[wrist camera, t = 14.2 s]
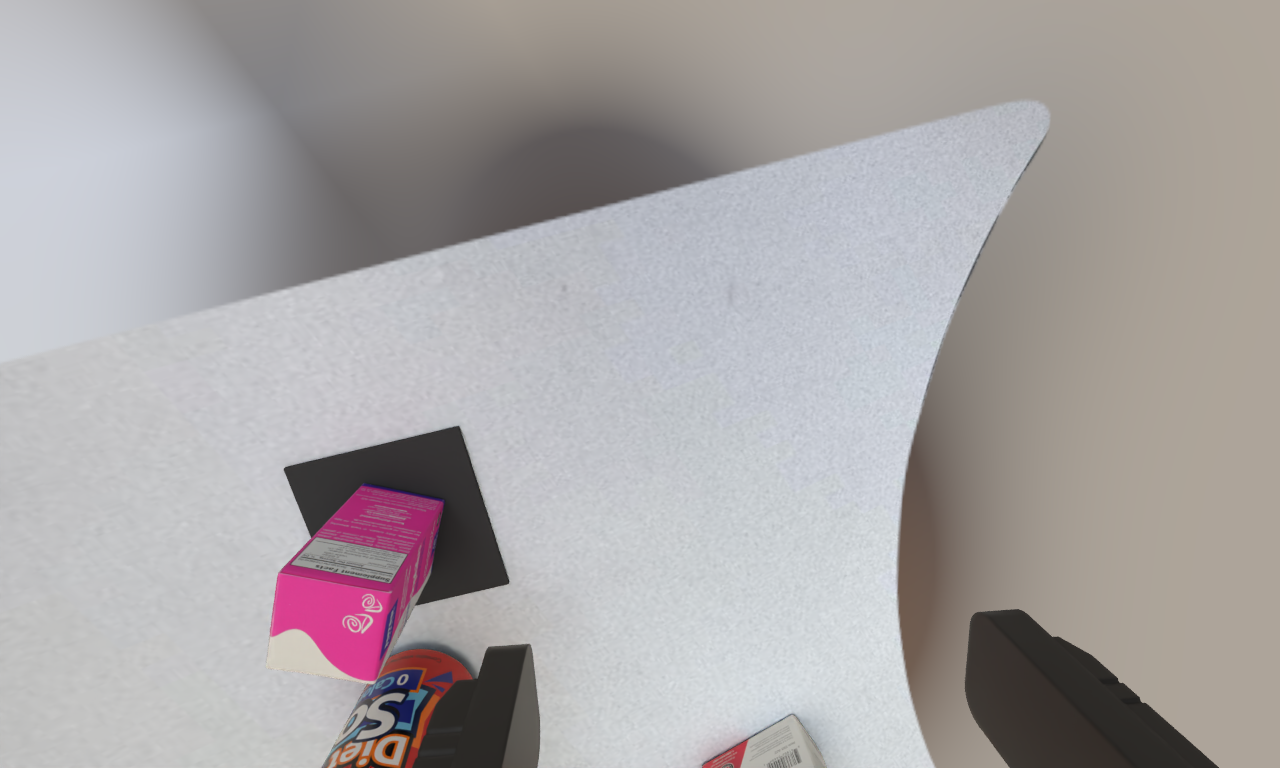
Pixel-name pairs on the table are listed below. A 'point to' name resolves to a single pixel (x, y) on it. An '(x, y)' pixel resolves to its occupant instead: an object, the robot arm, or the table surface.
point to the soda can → (395, 711)
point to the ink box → (774, 749)
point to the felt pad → (419, 469)
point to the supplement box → (354, 585)
